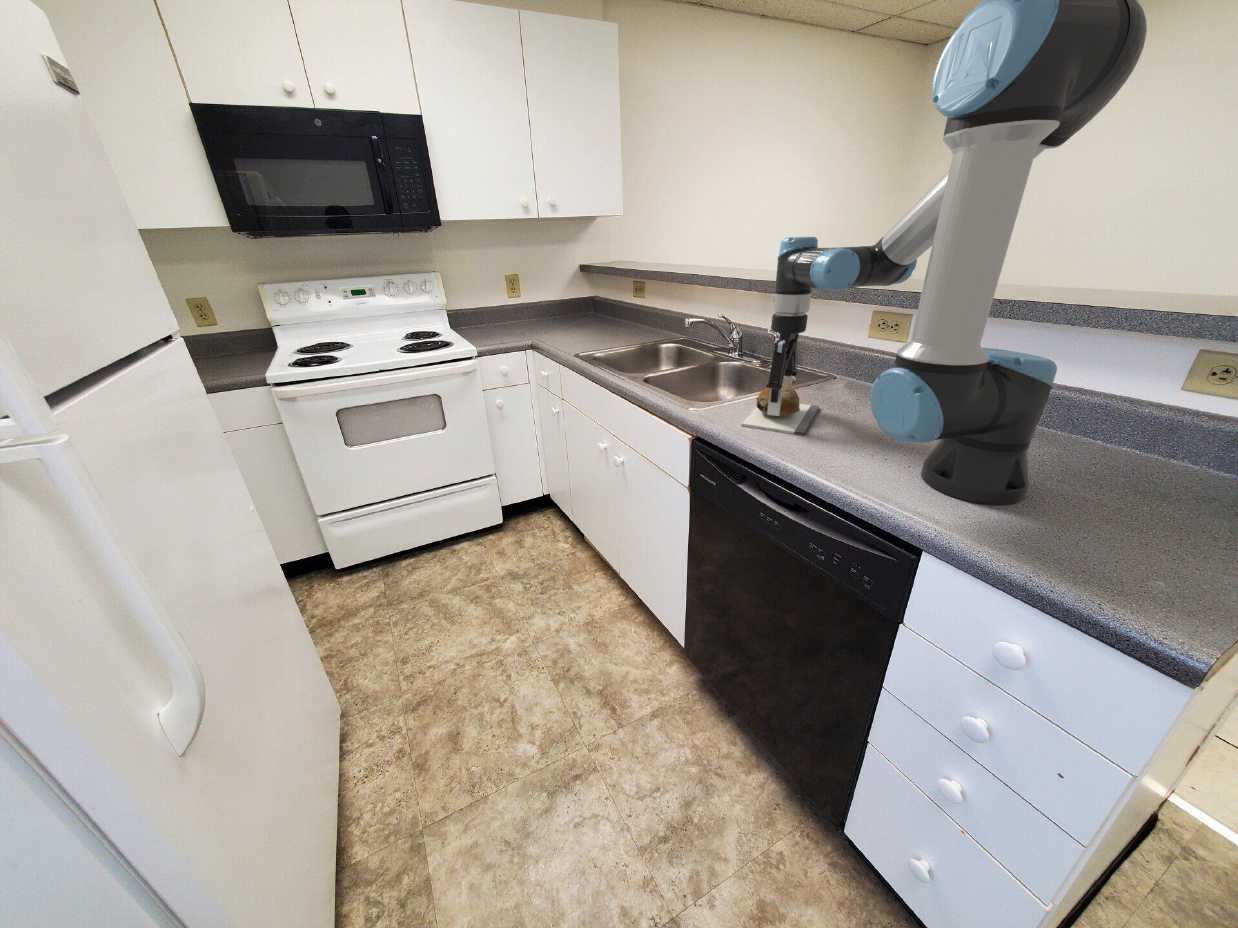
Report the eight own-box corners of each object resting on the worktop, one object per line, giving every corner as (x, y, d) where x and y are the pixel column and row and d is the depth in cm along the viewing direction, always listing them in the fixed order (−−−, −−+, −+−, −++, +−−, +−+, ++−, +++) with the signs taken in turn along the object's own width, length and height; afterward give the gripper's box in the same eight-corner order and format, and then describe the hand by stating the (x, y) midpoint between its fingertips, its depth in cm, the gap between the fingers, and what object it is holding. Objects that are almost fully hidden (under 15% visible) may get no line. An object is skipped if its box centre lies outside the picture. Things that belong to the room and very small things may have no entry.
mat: (803, 435, 105) (803, 432, 105) (741, 425, 112) (741, 423, 111) (818, 408, 121) (819, 405, 120) (763, 401, 127) (763, 398, 127)
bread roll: (795, 430, 113) (814, 401, 109) (757, 413, 111) (776, 383, 108) (782, 416, 122) (800, 388, 118) (747, 400, 120) (764, 372, 117)
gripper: (784, 306, 116) (774, 393, 126) (759, 320, 99) (750, 420, 109) (816, 307, 113) (803, 396, 123) (797, 322, 95) (783, 425, 105)
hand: (778, 407), depth 116 cm, fingers closed on bread roll, 10 cm apart
